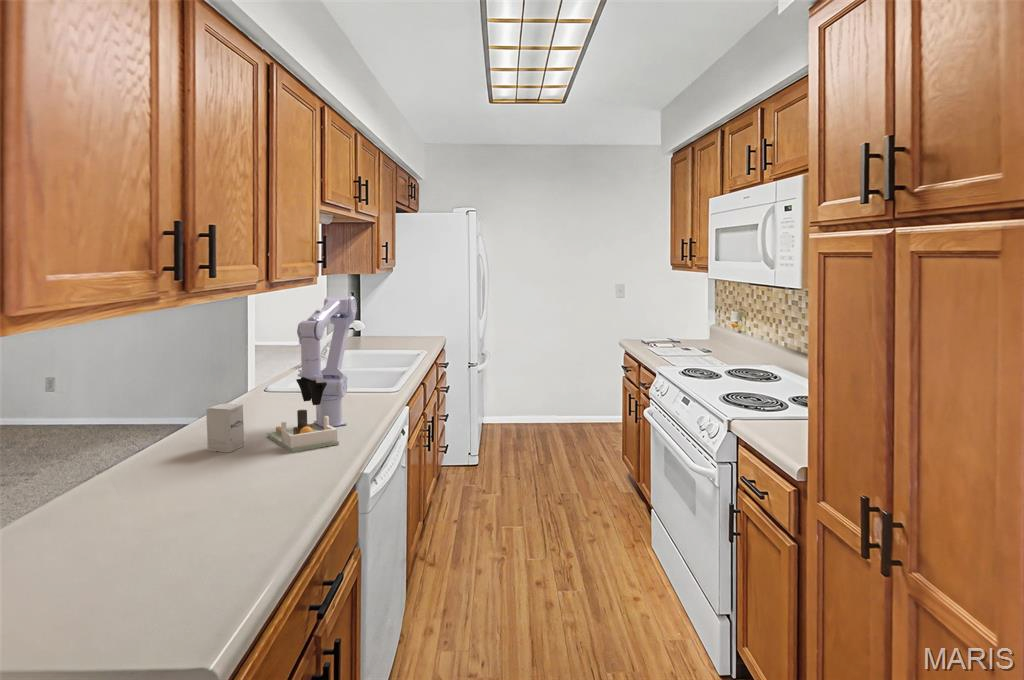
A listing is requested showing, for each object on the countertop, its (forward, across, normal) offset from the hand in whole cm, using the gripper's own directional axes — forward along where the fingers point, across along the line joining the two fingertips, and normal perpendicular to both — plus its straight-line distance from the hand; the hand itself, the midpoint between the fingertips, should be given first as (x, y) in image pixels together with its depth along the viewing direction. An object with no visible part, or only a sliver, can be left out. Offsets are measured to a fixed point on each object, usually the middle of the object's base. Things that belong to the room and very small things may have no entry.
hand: (311, 402), depth 212 cm
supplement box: (+11, -1, -25) cm, 28 cm away
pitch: (+10, +2, -4) cm, 12 cm away
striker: (+9, +4, -4) cm, 11 cm away
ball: (+8, +7, -4) cm, 11 cm away
